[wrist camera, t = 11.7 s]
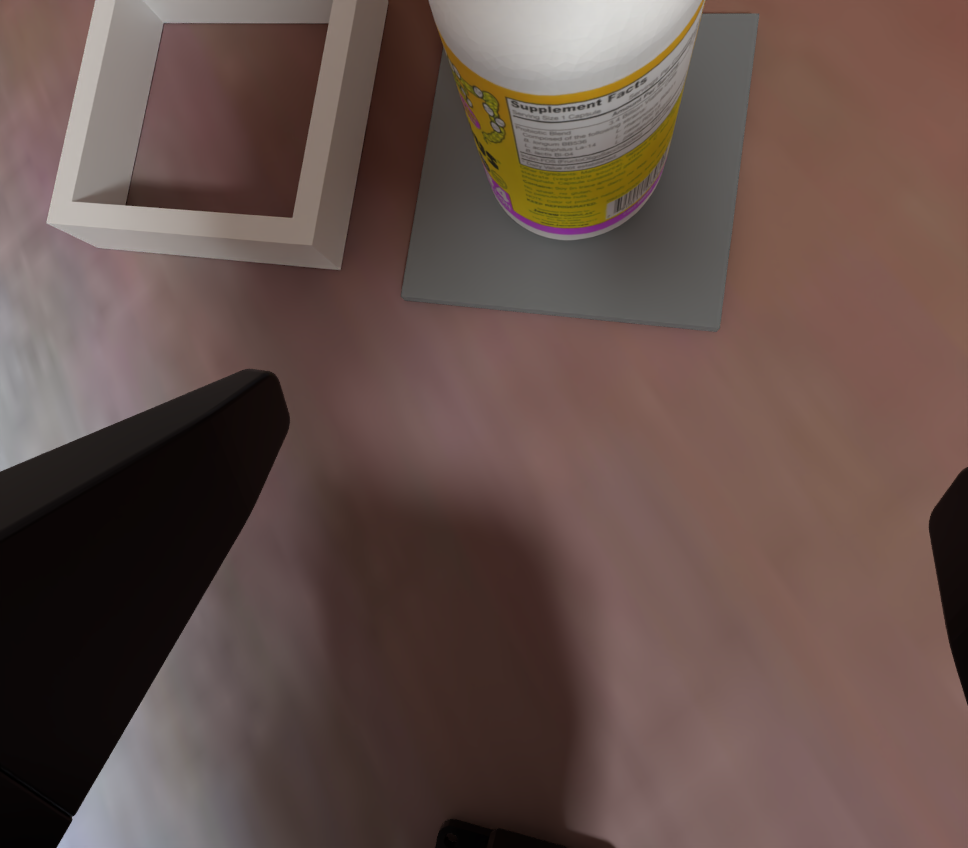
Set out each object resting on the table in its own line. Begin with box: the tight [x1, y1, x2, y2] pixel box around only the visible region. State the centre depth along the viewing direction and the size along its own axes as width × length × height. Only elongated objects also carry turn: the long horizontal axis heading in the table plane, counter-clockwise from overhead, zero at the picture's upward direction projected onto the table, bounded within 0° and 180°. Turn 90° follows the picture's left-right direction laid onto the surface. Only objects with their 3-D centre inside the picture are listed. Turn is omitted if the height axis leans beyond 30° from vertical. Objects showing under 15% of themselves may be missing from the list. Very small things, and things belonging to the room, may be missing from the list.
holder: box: [47, 0, 388, 270], centre depth 24 cm, size 12×12×2 cm
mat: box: [401, 14, 759, 332], centre depth 22 cm, size 12×12×1 cm
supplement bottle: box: [428, 0, 705, 240], centre depth 15 cm, size 7×7×13 cm
